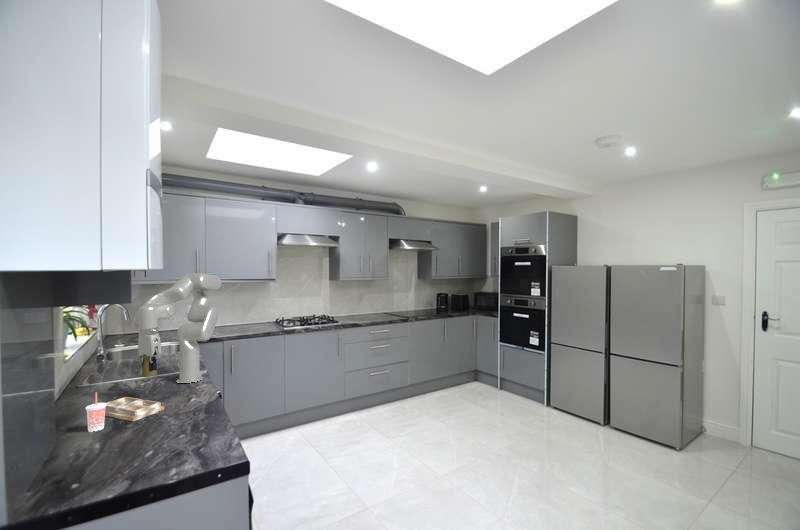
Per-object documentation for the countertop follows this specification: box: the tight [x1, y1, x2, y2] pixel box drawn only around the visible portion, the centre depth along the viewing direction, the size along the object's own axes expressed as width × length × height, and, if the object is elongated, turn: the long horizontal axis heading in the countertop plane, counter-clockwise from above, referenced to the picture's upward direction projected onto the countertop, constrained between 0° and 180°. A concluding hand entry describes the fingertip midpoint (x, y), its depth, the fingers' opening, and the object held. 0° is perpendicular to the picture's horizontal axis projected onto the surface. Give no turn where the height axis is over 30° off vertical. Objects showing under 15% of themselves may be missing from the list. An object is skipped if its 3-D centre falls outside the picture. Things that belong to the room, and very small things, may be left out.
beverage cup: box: [85, 392, 107, 433], centre depth 136 cm, size 6×6×14 cm
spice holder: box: [105, 396, 165, 422], centre depth 153 cm, size 13×24×4 cm, turn 69°
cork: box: [141, 354, 158, 378], centre depth 169 cm, size 6×6×11 cm
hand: (149, 369), depth 169 cm, fingers closed on cork, 4 cm apart
